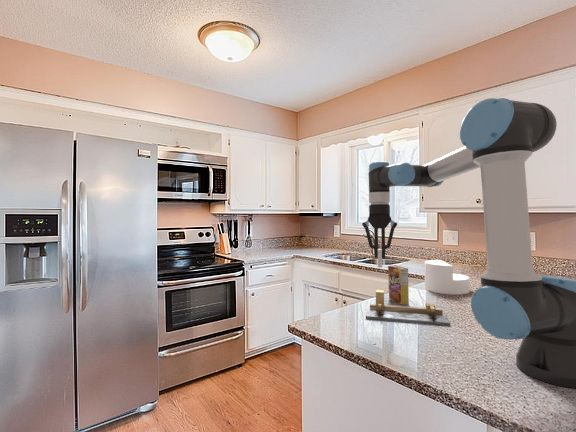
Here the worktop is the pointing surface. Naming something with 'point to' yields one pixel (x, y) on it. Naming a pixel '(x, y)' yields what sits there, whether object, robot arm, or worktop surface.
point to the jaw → (379, 300)
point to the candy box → (398, 284)
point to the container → (444, 278)
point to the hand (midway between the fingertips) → (379, 266)
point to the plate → (408, 317)
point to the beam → (412, 309)
